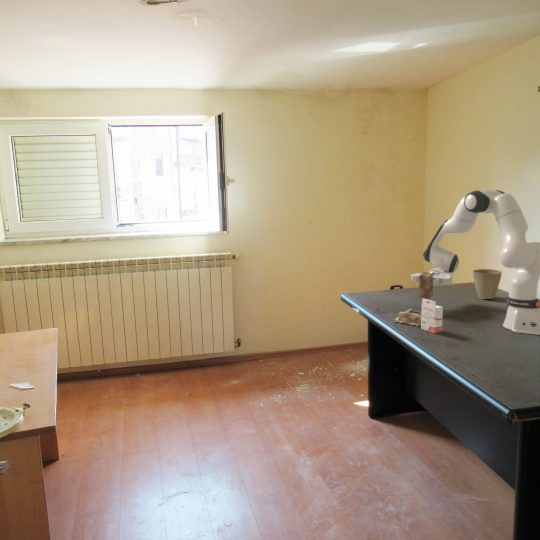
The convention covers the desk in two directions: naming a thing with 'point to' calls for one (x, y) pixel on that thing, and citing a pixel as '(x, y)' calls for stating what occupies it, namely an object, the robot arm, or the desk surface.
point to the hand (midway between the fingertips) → (426, 281)
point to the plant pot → (486, 282)
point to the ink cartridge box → (431, 316)
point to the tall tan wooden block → (425, 285)
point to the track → (409, 317)
